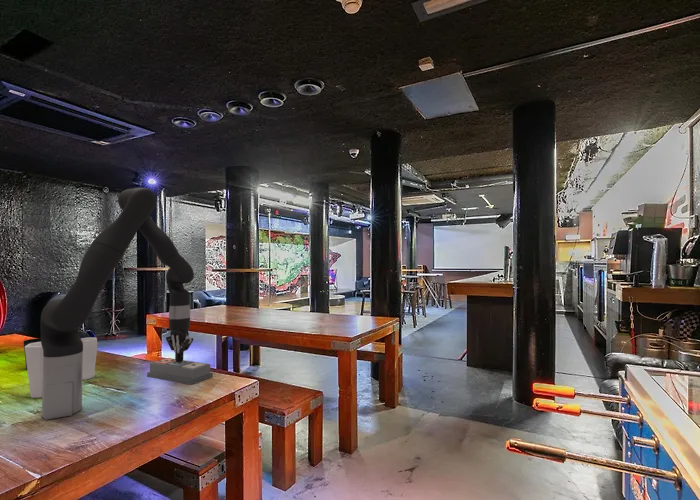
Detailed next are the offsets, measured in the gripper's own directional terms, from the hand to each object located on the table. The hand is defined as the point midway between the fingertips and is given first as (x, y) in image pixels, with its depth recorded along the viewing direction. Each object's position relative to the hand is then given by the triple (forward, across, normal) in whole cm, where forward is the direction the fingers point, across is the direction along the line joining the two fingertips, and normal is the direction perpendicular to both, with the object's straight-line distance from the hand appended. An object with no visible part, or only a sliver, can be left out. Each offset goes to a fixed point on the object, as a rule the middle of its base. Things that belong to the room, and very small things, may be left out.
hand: (179, 361), depth 138 cm
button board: (+6, 0, 0) cm, 6 cm away
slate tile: (+4, 0, 0) cm, 4 cm away
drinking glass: (+6, +32, +16) cm, 36 cm away
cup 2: (+6, +26, +31) cm, 41 cm away
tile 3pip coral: (+4, +8, 0) cm, 9 cm away
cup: (+6, +68, +16) cm, 70 cm away
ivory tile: (+4, -8, 0) cm, 9 cm away
